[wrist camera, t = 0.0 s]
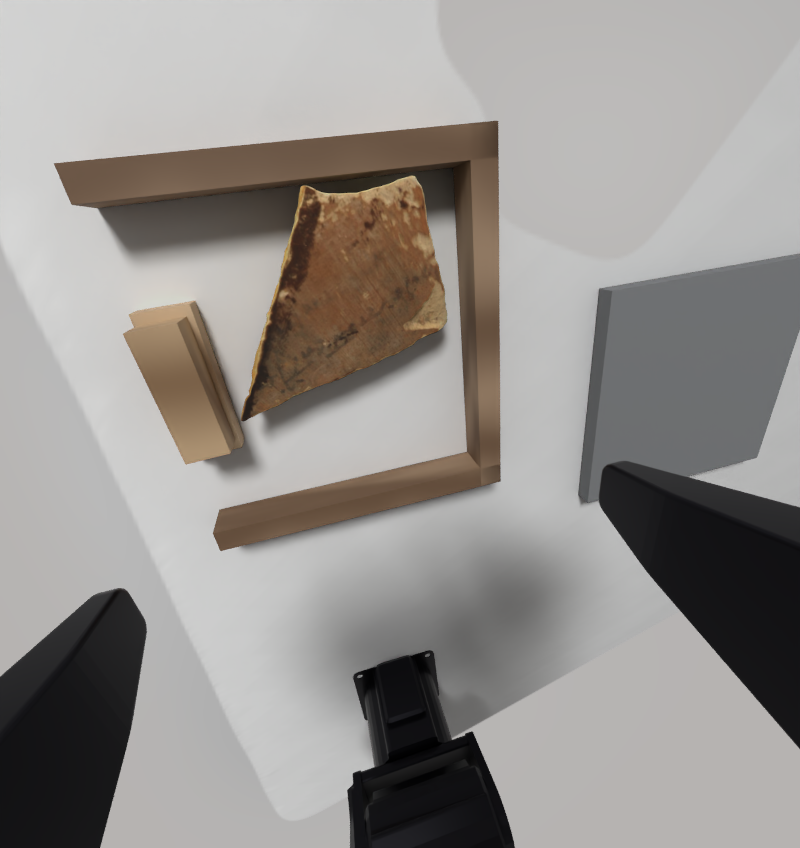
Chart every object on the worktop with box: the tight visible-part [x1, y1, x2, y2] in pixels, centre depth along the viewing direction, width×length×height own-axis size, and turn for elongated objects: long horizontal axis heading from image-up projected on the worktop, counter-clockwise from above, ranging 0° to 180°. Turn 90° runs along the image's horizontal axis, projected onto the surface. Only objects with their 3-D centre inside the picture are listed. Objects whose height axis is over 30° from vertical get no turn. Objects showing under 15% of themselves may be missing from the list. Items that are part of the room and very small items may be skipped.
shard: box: [241, 176, 447, 421], centre depth 17 cm, size 11×8×2 cm
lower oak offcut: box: [129, 301, 244, 450], centre depth 19 cm, size 7×2×2 cm, turn 8°
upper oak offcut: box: [123, 316, 235, 464], centre depth 17 cm, size 6×2×2 cm, turn 9°
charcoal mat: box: [579, 254, 800, 503], centre depth 26 cm, size 14×14×1 cm
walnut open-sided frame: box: [54, 121, 500, 551], centre depth 19 cm, size 17×16×2 cm
